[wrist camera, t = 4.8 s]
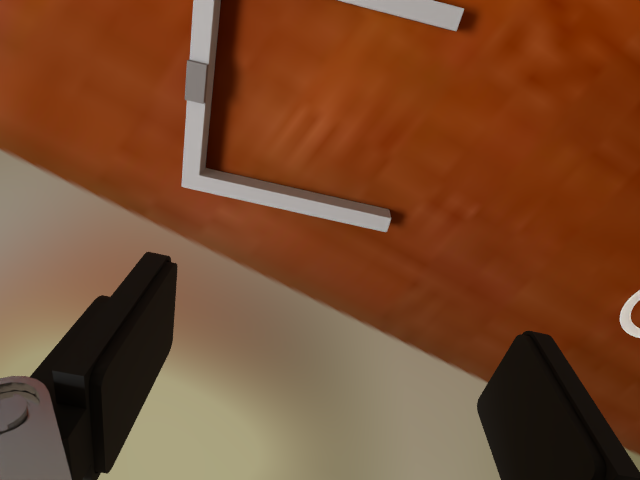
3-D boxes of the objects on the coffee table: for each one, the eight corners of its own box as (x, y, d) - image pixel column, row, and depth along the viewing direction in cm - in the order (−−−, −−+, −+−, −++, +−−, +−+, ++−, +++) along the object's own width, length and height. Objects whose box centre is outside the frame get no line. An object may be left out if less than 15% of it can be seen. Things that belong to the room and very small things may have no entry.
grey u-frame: (205, -59, 31) (194, -64, 28) (457, 8, 32) (466, 8, 30) (188, 178, 40) (179, 189, 37) (384, 222, 41) (387, 235, 39)
